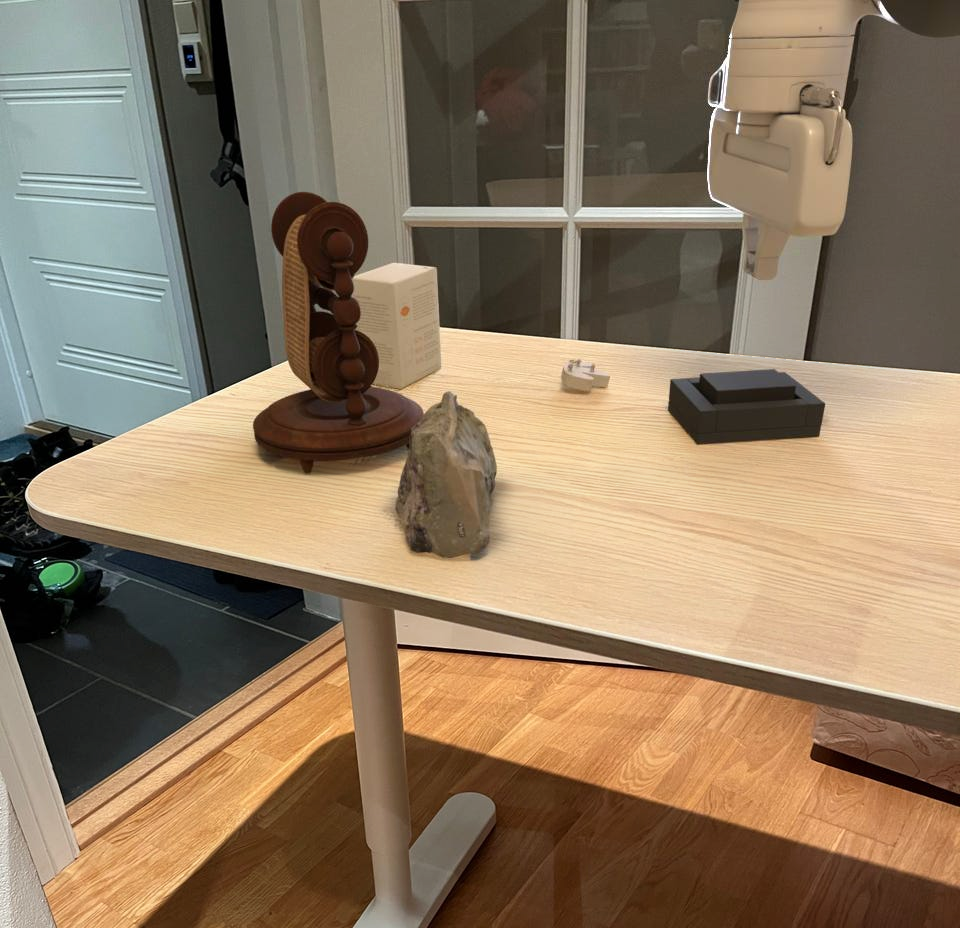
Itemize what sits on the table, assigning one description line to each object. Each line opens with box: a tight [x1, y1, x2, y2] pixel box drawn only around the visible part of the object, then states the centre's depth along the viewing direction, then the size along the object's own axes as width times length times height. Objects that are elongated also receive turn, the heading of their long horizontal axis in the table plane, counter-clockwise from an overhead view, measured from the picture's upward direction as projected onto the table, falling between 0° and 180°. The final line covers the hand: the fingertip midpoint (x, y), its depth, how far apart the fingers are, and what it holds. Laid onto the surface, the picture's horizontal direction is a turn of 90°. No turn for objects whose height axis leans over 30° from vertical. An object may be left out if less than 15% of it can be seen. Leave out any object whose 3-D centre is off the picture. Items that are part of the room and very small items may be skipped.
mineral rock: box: [394, 390, 498, 559], centre depth 66 cm, size 13×11×10 cm
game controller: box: [490, 358, 611, 392], centre depth 93 cm, size 6×12×3 cm, turn 102°
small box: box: [352, 262, 442, 390], centre depth 96 cm, size 8×6×10 cm
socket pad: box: [667, 371, 826, 446], centre depth 84 cm, size 11×9×3 cm
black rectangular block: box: [698, 368, 796, 405], centre depth 83 cm, size 7×5×3 cm
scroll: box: [252, 191, 425, 475], centre depth 77 cm, size 15×15×20 cm
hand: (758, 276), depth 78 cm, fingers closed
